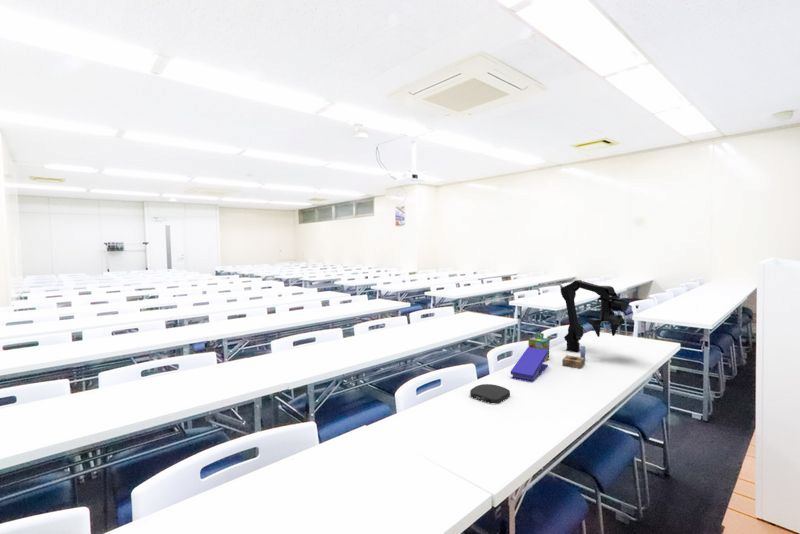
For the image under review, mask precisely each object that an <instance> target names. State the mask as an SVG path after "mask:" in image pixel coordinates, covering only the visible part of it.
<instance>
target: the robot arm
mask: <svg viewBox="0 0 800 534" xmlns="http://www.w3.org/2000/svg"><path fill="white" fill-rule="evenodd" d="M580 289H582V290H585V291H589V292H593V293H595V294H596V295H598V296H599V297H598V298H597V299H596V300H597V301H600V309H599V311H598V312H599V313H600V316H598V318H588V319H587V323H588V324H589V326H592V328H593V330H594V332H595V334H596V336H597V338H598V337H599V338H600V335H601V327H602V325H601V324H607V323H609V324H610V327H611V329H610V330H611V335H612V336H613V337H614V336H615V335H616V332H617V330H618V328H619V327H621V326H622V325H624V324H625V319H624V318H623V315H621V314H618V315H617V314H616V315H615V311H617V312H618V311H619V312H623V313H624V312H627V310H628V307H629V305H628V302H627V301H626V299H625V298H620V297H619V296H618V294H617V293H616V290H615V289H614V286H611V285H598V284H594V283H590V282H586V281H583V280H580V279H578V280H574V281H571V283H568V284H566V285H565V286H562V287H561V289H560V295H561V297H562V298H563V300H564V301H565V306H566V312H567V317H568V323H569V325H568V328H567V333H566V335H565V336H564V337H563V338H564V341H566V349H565V351H567V350H568V352H569V351H570V352H575V353H578V352H580V346H581V343H580V341H581V340H582V338H583V336H584V333H585V332H584V326H583V325H582V326H581V325H580V323H579V319H578V315H577V314H578V313H577V308H576V305H575V304H576V303H575V298H576V294H577V291H578V290H580Z"/></svg>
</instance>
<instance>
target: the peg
mask: <svg viewBox="0 0 800 534" xmlns="http://www.w3.org/2000/svg"><path fill="white" fill-rule="evenodd" d="M579 354H580V355H579V357H582V358H585V359H586V346H585V345H580V350H579Z"/></svg>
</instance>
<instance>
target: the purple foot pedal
mask: <svg viewBox="0 0 800 534" xmlns="http://www.w3.org/2000/svg"><path fill="white" fill-rule="evenodd" d="M547 354H548V350H544V349H537V348H530V347H528V346H527V348H526V349H525V351H524V352H523V354H522V355H521V357H520V358H519V359H518V360H517V362H516V363H515V365H514V366H513V367H512V369H511V370H510V375H512V379H514V378H516V379H515V380H519V379H521V381H525V380H526V382H530V381H531V382H530V383H533V382H535V381H536V380H537V378H538V377H540V375H542V373H543V372H544V371H545V370H546V369H547V368H548V367H549V364H548V363H544V362H545V361H546V360H545V358H546V356H547ZM544 360H545V361H544Z"/></svg>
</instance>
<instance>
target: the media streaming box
mask: <svg viewBox="0 0 800 534" xmlns="http://www.w3.org/2000/svg"><path fill="white" fill-rule="evenodd" d="M469 395H471V396H470V397H471V398H472V397H473V398H472V399H475V398H477V399H476V400H478V399H479V400H478V401H481V400H482V401H481V402H484V401H486V402H485V403H487V402H489V403H488V404H491V403H497V404H500V403H502V402H504V401H506V400H507V399H509V398H510V397H511V391H510V390H509V389H508V388H507V387H505V386H500V385H497V384H492V383H490V384H488V383H485V384H479V385H476V386H474V387H473V388H471V389H470V391H469ZM508 397H509V398H508ZM505 399H506V400H505ZM503 400H504V401H503ZM501 401H502V402H501Z"/></svg>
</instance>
